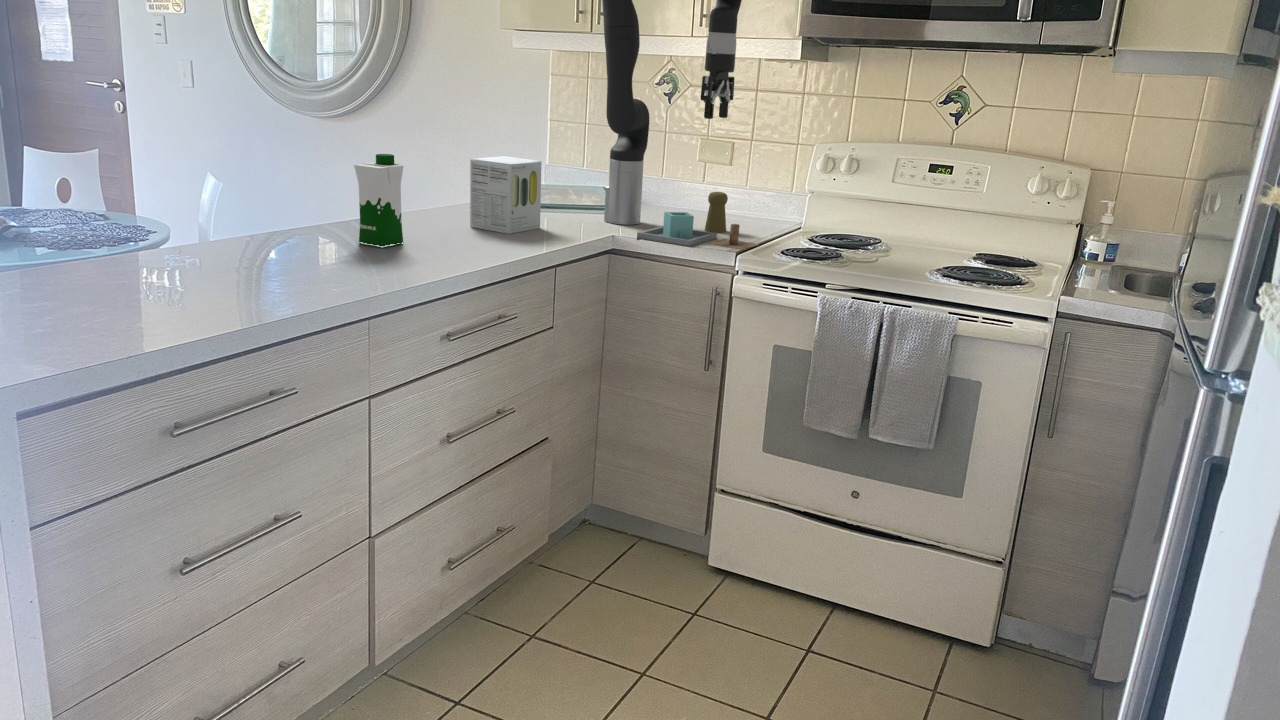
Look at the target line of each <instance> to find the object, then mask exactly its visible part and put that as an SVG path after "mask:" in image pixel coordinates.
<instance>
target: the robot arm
mask: <svg viewBox="0 0 1280 720" xmlns="http://www.w3.org/2000/svg"><path fill="white" fill-rule="evenodd" d="M742 2H743V1H742V0H716V2H715V6H714V8H713V9H711V11H710V13H709V18H708V21H709V22H708V32H707V33H708V34H707V39H706V48H705V61H704V71H706V72H708V73H709V75H703V76H702V79H701V88H700V89H701V90H700V101H703V103H704V110H703V112H704V113H703V118H704V119H706V120H711V119H714V110H715V109H714V107H715V100H716V98H717V97H718V98H719V107H718V109H719V111H718V117H719V118H720V119H721V118H722V119H726V118H728V116H729V115H728V114H729V113H728V112H729V104H730V102H731V101H733V100H734V96H735V95H734V93H735V92H734V91H735V76H729V73H734V72H735V66H736V54H737V53H736V52H737V30H738V29H737V27H738V16H739V15H738V14H739V12H740V9H741V5H742ZM602 14H603V35H604V47H605V60H606V61H605V62H606V65H605V66H606V77H607V78H606V80H607V82H606V84H607V87H606V121H607V124H608V126H609V128H610V130H611V131H612V132H613V133H615V134H617V140H616V142H615V144H614V145H613V146H612V147H611V149H610V151H609V169H608V170H609V173H608V174H609V175H608V185H607V186H606V187H605V189H604V190H605V193H604V194H605V196H604V216H603V221H604V222H608V223H611V224H616V225H627V226H628V225H632V226H633V225H638V224H641V216H642V215H641V213H642V199H643V198H642V195H643V181H644V180H643V179H644V177H643V176H644V157H645V153H646V151H647V147H648V144H649V143H648V141H649V140H648V139H649V131H650V111H649V108H648V106H647V105H646V103H645V102H643V100H641V99H639V98H638V99H637V98H634V92H633V75H634V70H635V67H636V63H637V61H638V56H639V52H640V41H641V40H640V25H639V17H638V12H637V11H636V7H635V4H634V2H633V0H602Z"/></svg>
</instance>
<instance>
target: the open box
mask: <svg viewBox="0 0 1280 720" xmlns="http://www.w3.org/2000/svg"><path fill="white" fill-rule="evenodd" d="M663 214H664V215H663V236H667V237H673V238H680V239H686V240H689V239H692V234H693V230H694V220H695V219H694V218H695V216H694V215H692V214H690V213H688V212H687V211H683V212H681V211H678V212H677V211H664V212H663Z"/></svg>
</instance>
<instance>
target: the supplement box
mask: <svg viewBox="0 0 1280 720" xmlns="http://www.w3.org/2000/svg"><path fill="white" fill-rule="evenodd" d="M469 161H470V163H469V164H470V165H469V166H470V177H469V179H470V180H469V182H470V184H469V185H470V186H469V187H470V190H469V192H470V193H469V194H470V195H469V196H470V197H469V200H470V201H469V203H470V204H469V205H470V207H469V210H470V211H469V217H470V220H469V223H470V225H469V227H471V228H475V229H480V230H486V231H492V232H496V233H502V234H507V235H509V234H514V233H519V232H520V233H521V232H526V231H532V230H537V229H540V228H541V203H542V201H541V200H542V199H541V197H542V195H541V194H542V193H541V192H542V160H536V159H529V158H521V157H513V156H504V155H501V156H490V157H478V158H477V157H476V158H470V160H469Z"/></svg>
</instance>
